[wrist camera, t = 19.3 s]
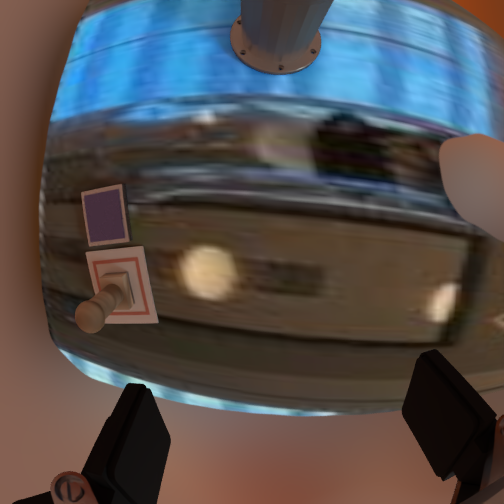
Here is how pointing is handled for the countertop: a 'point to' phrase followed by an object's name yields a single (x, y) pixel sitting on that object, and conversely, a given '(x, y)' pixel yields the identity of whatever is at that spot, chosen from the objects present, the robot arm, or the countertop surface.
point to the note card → (139, 279)
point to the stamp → (105, 301)
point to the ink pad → (106, 215)
